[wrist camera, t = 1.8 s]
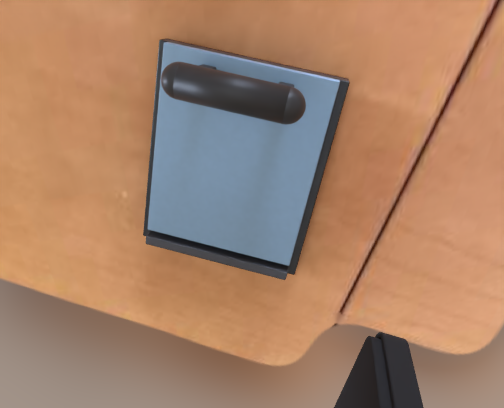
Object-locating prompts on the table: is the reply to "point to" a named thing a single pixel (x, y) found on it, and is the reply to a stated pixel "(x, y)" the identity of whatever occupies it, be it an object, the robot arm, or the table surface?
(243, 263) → the dark rectangular box base
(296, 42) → the table surface
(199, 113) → the handled blue panel
